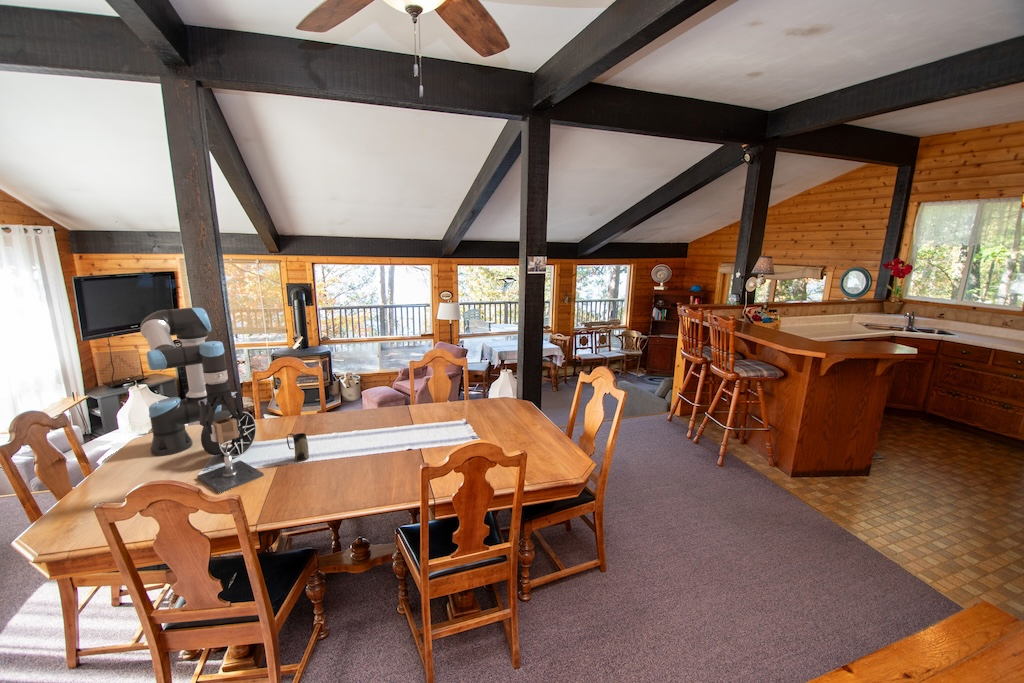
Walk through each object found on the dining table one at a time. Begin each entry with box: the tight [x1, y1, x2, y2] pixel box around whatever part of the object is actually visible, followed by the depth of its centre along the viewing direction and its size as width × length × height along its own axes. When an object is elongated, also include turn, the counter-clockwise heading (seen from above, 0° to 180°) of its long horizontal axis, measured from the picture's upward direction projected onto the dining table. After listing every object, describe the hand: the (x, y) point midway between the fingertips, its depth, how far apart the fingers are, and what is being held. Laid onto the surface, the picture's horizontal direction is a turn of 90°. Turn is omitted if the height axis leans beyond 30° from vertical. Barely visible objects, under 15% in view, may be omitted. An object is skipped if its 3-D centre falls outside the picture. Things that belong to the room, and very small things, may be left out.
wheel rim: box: [200, 409, 257, 458], centre depth 189 cm, size 20×9×20 cm, turn 168°
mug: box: [286, 432, 310, 463], centre depth 184 cm, size 8×6×12 cm
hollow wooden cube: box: [212, 417, 239, 443], centre depth 166 cm, size 7×7×7 cm
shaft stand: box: [196, 452, 265, 494], centre depth 169 cm, size 20×16×11 cm
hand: (225, 437), depth 167 cm, fingers closed on hollow wooden cube, 7 cm apart
